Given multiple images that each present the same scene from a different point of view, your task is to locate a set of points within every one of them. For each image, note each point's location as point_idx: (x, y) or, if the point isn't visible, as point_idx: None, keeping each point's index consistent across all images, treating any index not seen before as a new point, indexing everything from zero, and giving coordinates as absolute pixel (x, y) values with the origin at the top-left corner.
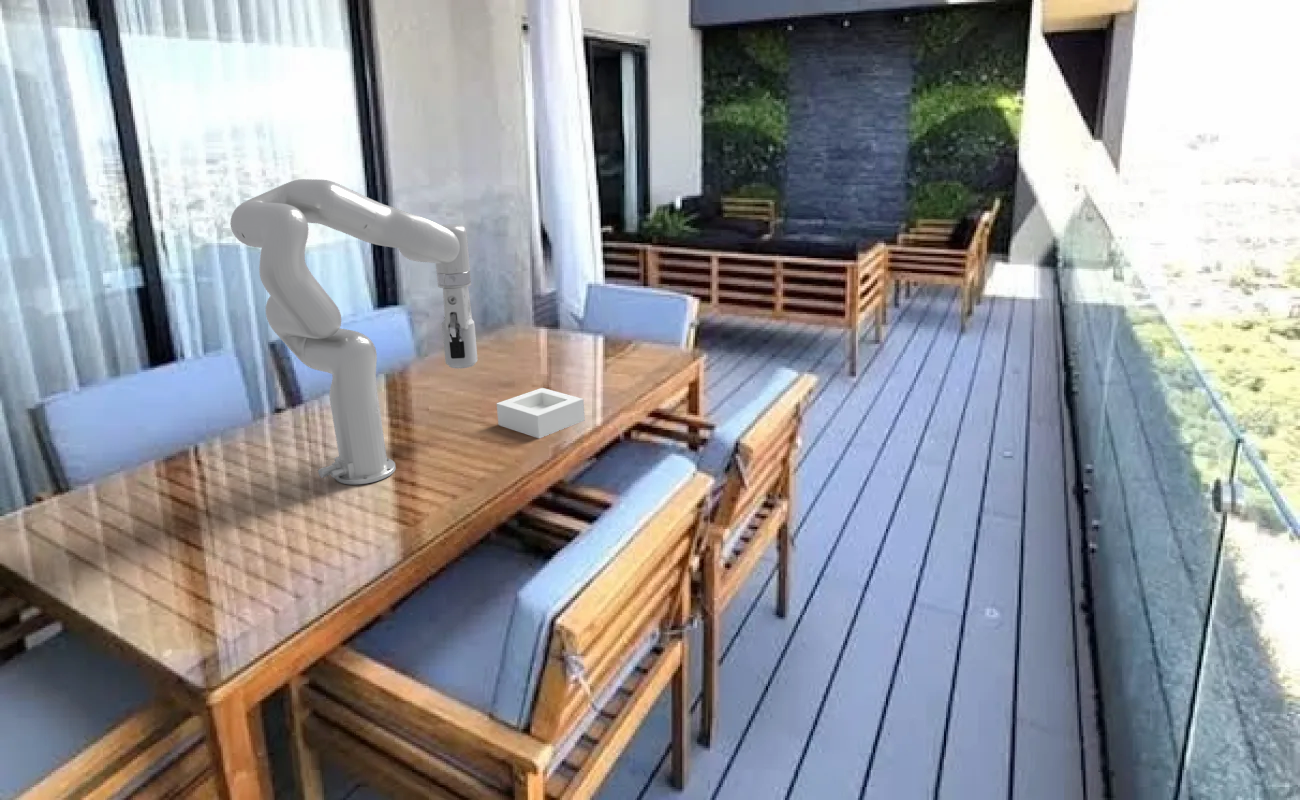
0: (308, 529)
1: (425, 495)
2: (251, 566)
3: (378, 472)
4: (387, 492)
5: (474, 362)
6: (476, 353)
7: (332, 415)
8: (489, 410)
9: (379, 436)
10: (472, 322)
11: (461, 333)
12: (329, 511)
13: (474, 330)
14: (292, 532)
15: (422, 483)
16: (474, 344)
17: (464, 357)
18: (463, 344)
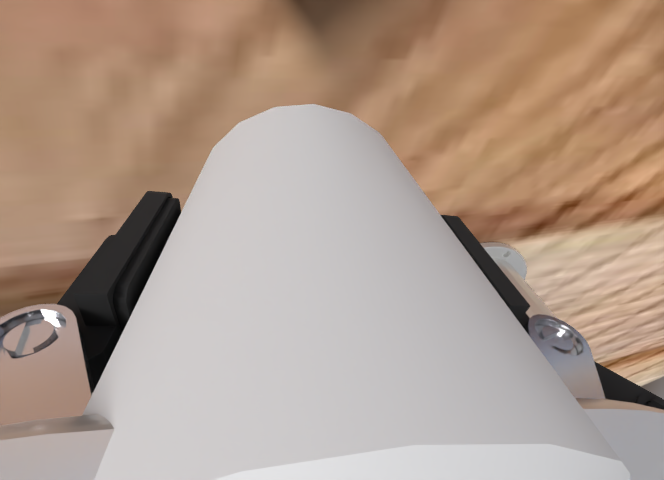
0: (610, 305)
1: (636, 180)
2: (651, 329)
3: (512, 266)
4: (573, 239)
5: (372, 128)
6: (335, 126)
7: None
8: (96, 9)
9: (547, 310)
10: (542, 475)
11: (598, 398)
12: (577, 296)
13: (400, 271)
14: (604, 317)
15: (580, 189)
16: (391, 176)
17: (453, 216)
18: (511, 284)
